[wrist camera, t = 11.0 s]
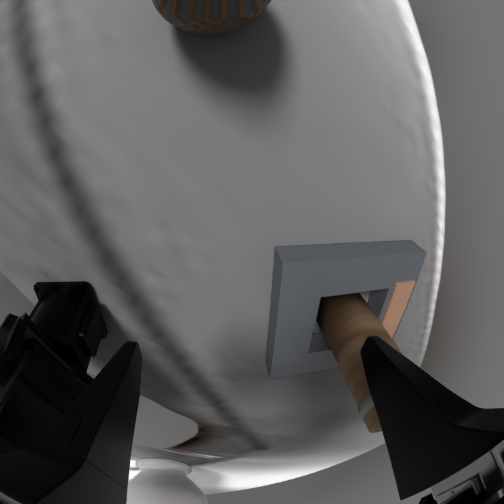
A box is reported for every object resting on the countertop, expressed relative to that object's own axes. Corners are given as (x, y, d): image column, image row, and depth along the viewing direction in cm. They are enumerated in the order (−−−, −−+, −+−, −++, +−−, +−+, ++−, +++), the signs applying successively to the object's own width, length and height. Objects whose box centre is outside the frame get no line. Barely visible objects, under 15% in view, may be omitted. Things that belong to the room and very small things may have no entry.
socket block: (265, 361, 29) (270, 381, 26) (274, 246, 22) (283, 264, 19) (375, 342, 31) (385, 357, 28) (411, 240, 24) (428, 253, 22)
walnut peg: (321, 333, 28) (370, 438, 16) (306, 301, 25) (364, 422, 14) (364, 310, 27) (426, 406, 16) (355, 275, 25) (432, 382, 13)
